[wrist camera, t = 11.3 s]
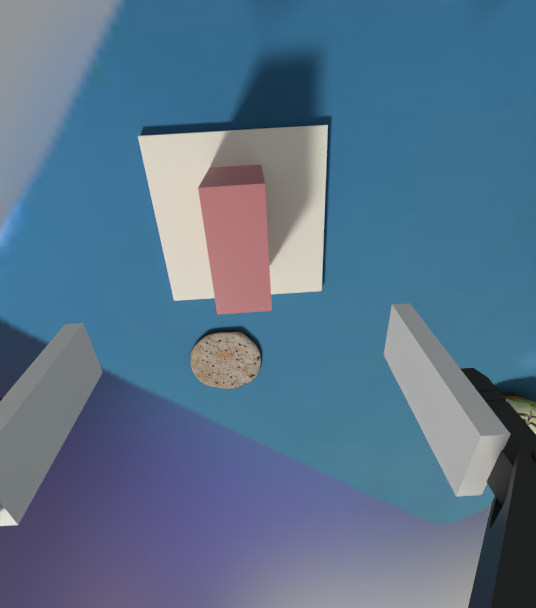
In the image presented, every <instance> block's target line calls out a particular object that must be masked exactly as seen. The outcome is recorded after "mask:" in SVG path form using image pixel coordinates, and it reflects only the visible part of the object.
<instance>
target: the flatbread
mask: <svg viewBox="0 0 536 608" xmlns="http://www.w3.org/2000/svg"><path fill="white" fill-rule="evenodd" d="M260 364H261V356H260V352H259V349H258V348H257V346H256V344H255V343H254V342H253V341H252V340H251V339H249V338H248V337H247V336H246V335H245V334H243V333H241V332H219V333H213V334H209V335H207V336H205V337H204V338H202V339H201V340H200V341H199V342H198V343H197V344H196V345H195V346H194V348H193V350H192V352H191V368H192V371H193V372H194V374H195V375H196V377H197V378H198V379H199V381H201V382H202V383H204V384H205V385H207V386H212V387H217V388H225V389H233V388H237V387H239V386H242V385H244V384H246V383H248V382H250V381H252V380H253V379H254V378H255V377H256V376H257V374H258V372H259V369H260Z"/></svg>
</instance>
